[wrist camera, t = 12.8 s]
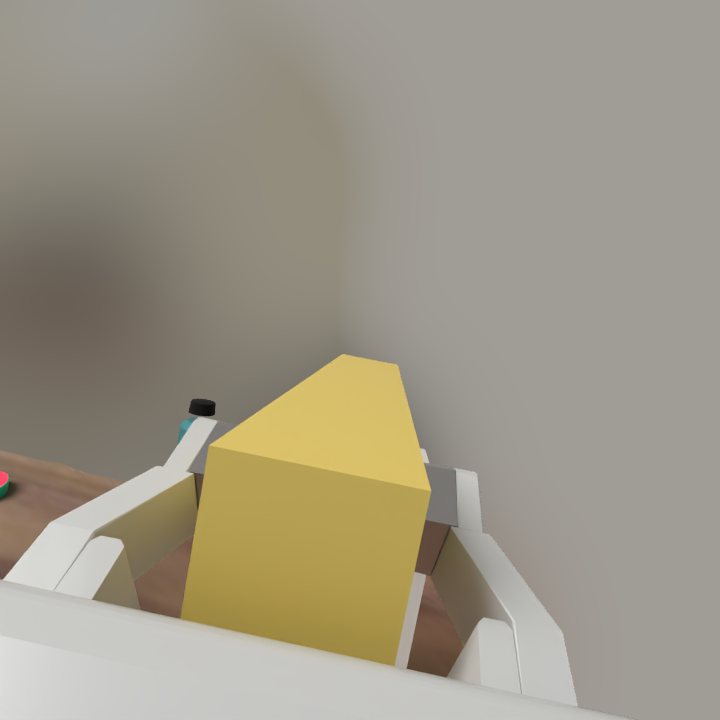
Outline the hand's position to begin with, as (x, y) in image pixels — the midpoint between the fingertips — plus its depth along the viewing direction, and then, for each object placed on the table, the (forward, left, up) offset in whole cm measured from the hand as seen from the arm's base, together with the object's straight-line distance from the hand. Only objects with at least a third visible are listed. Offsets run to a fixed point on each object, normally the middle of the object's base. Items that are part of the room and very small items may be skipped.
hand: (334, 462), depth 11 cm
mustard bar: (+6, +4, -2) cm, 7 cm away
